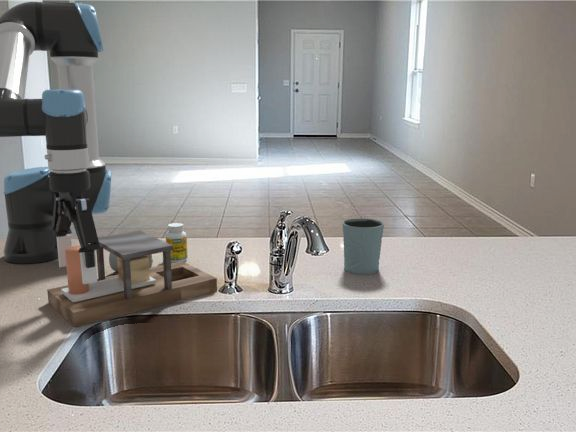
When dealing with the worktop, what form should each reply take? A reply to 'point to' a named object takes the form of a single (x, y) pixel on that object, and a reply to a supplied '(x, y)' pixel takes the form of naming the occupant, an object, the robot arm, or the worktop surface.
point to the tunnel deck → (169, 281)
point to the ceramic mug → (115, 266)
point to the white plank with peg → (90, 290)
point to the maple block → (136, 269)
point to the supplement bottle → (177, 242)
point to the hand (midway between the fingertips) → (77, 273)
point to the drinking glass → (362, 245)
